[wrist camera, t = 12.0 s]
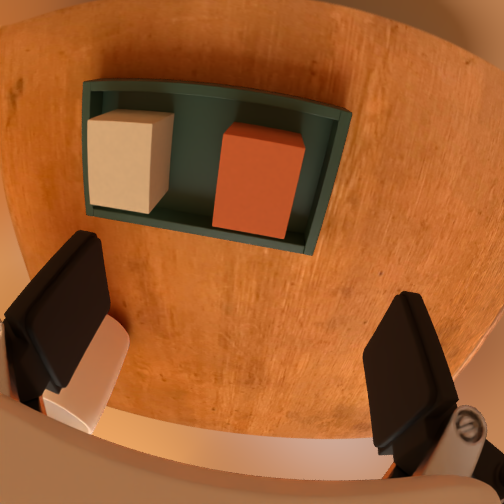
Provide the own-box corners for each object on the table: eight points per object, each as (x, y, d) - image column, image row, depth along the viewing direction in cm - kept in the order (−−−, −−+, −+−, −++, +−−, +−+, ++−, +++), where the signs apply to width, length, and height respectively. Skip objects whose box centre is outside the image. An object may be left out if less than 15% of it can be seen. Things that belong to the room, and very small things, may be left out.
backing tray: (345, 108, 21) (352, 112, 19) (310, 239, 27) (312, 256, 25) (99, 78, 21) (82, 81, 18) (99, 202, 27) (86, 215, 25)
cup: (78, 289, 33) (19, 380, 22) (140, 317, 35) (94, 421, 23) (77, 330, 38) (33, 411, 26) (131, 355, 39) (95, 444, 27)
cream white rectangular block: (174, 112, 22) (152, 123, 18) (168, 190, 25) (149, 214, 21) (116, 108, 22) (87, 119, 18) (115, 182, 25) (89, 204, 21)
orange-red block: (301, 133, 22) (305, 148, 18) (284, 211, 25) (284, 239, 22) (233, 121, 22) (223, 133, 18) (222, 200, 25) (211, 226, 22)
